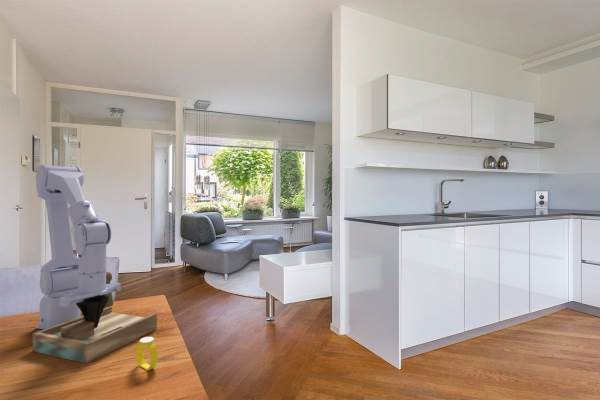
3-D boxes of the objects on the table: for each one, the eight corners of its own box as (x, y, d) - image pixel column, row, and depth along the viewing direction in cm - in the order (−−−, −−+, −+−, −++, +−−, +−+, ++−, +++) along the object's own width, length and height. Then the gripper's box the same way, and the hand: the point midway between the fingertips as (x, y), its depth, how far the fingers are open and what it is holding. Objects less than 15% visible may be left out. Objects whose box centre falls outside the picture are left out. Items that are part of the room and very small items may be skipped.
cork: (103, 309, 103) (103, 274, 103) (87, 308, 105) (87, 273, 105) (117, 303, 109) (118, 270, 109) (102, 302, 111) (102, 269, 111)
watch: (160, 370, 68) (161, 341, 68) (147, 376, 66) (149, 346, 65) (144, 359, 71) (145, 332, 71) (131, 365, 69) (133, 337, 69)
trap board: (32, 351, 75) (32, 333, 75) (108, 320, 94) (108, 306, 94) (87, 363, 70) (87, 344, 70) (156, 328, 89) (156, 313, 89)
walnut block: (60, 340, 75) (60, 327, 75) (81, 332, 80) (81, 320, 80) (73, 343, 74) (73, 330, 74) (94, 334, 78) (94, 322, 78)
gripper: (75, 280, 72) (75, 342, 72) (129, 267, 86) (129, 319, 86) (52, 277, 74) (52, 337, 74) (109, 265, 88) (108, 316, 88)
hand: (92, 327), depth 80 cm, fingers closed
